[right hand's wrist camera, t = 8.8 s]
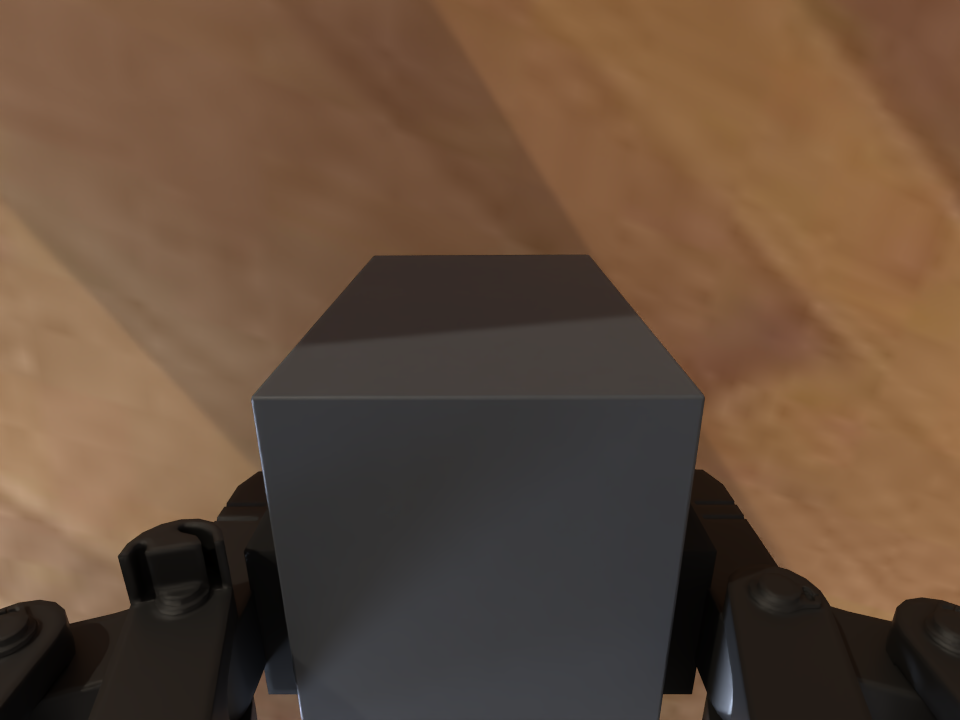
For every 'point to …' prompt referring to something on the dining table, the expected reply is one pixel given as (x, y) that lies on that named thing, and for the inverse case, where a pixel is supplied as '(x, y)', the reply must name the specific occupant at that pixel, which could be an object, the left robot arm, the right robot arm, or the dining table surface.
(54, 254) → the dining table surface
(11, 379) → the dining table surface
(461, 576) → the bar
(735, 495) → the dining table surface
